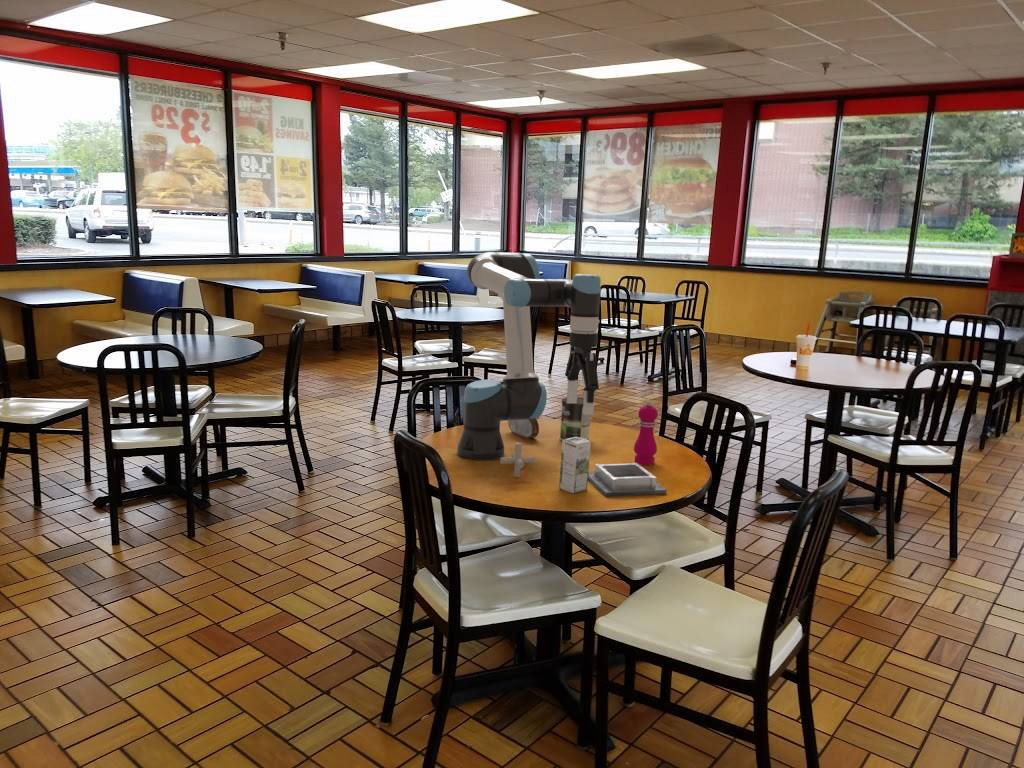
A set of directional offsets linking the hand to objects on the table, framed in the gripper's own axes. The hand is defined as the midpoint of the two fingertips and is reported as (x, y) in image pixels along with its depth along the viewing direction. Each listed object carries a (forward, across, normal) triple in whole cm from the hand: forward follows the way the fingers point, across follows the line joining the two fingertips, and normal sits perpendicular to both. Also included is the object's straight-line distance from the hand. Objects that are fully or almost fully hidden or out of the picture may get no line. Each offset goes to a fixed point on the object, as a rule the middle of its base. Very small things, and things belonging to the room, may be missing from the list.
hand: (579, 408), depth 208 cm
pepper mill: (+23, +21, -30) cm, 44 cm away
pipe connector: (+23, +12, +14) cm, 30 cm away
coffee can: (+23, +49, -17) cm, 57 cm away
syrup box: (+23, -1, +1) cm, 23 cm away
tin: (+23, +56, 0) cm, 61 cm away
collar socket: (+23, +1, -15) cm, 28 cm away
